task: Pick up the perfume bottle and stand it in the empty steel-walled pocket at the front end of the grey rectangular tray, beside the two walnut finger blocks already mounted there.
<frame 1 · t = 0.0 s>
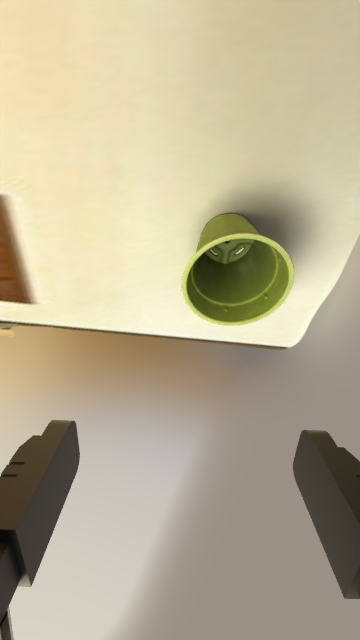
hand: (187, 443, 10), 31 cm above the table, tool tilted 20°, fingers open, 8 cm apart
plant pot: (226, 236, 38), on the table
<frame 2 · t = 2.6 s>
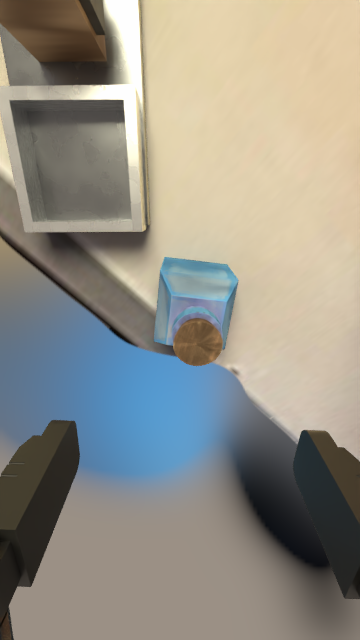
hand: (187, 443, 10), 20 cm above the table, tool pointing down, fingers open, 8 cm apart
perfume bottle: (191, 290, 29), on the table
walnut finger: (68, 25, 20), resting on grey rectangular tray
grey rectangular tray: (75, 37, 21), on the table
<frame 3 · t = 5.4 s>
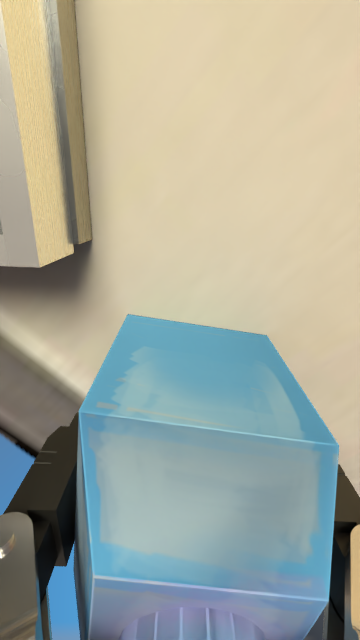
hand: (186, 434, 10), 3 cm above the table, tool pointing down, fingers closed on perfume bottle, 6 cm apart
perfume bottle: (186, 381, 14), on the table, touching gripper
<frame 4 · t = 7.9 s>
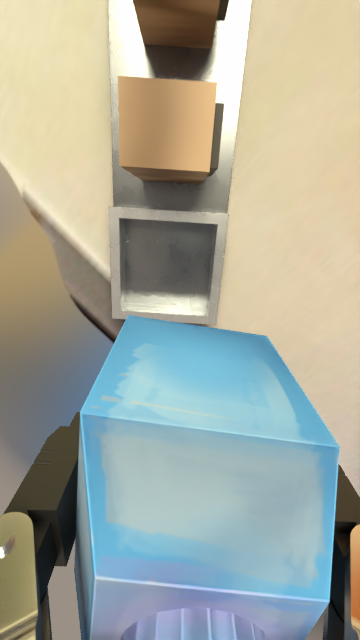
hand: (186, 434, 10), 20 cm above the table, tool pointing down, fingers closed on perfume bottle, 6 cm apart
perfume bottle: (186, 381, 14), point 16 cm above the table, touching gripper
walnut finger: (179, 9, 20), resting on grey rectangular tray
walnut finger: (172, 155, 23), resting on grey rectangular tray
grey rectangular tray: (173, 158, 25), on the table
when the fingers open (6 cm above the table, at t = 10.9 s): perfume bottle drops 1 cm, resting on grey rectangular tray.
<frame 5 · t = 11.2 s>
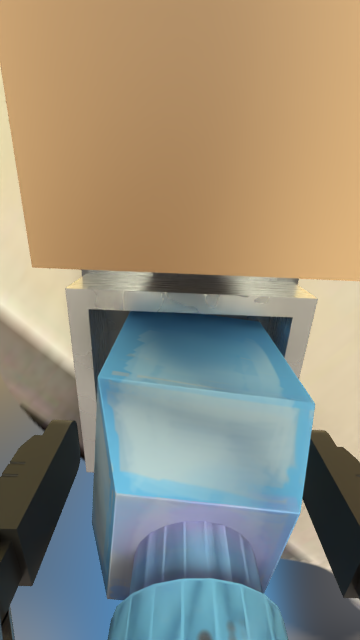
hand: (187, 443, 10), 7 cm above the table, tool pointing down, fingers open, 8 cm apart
perfume bottle: (187, 365, 15), point 1 cm above the table, touching grey rectangular tray
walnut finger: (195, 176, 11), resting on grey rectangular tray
grey rectangular tray: (194, 179, 13), on the table
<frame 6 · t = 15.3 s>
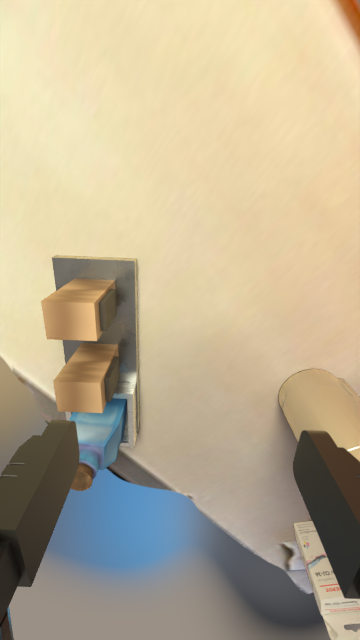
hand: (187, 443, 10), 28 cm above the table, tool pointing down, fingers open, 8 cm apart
ink cartridge box: (315, 526, 55), on the table
perfume bottle: (105, 408, 43), point 1 cm above the table, touching grey rectangular tray
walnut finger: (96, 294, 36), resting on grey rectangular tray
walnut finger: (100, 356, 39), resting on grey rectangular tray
grey rectangular tray: (103, 351, 40), on the table
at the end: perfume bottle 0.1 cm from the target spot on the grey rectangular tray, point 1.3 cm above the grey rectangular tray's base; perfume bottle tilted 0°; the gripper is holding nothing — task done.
